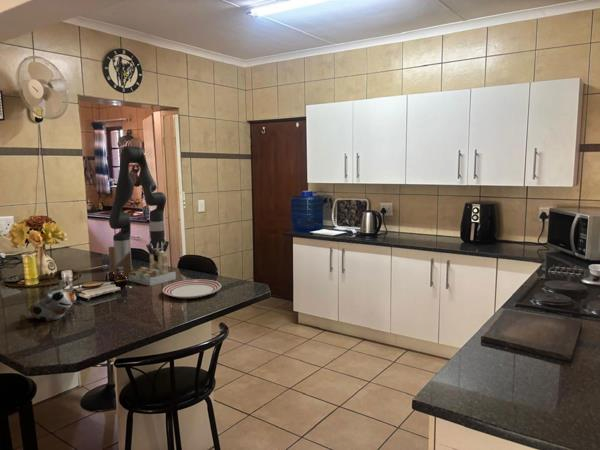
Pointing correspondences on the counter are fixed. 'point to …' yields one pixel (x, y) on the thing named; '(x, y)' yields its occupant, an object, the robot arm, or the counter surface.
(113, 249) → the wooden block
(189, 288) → the dinner plate
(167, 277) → the rack
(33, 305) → the lucky cat figurine
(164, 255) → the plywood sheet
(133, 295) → the counter surface
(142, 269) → the offcut stack
